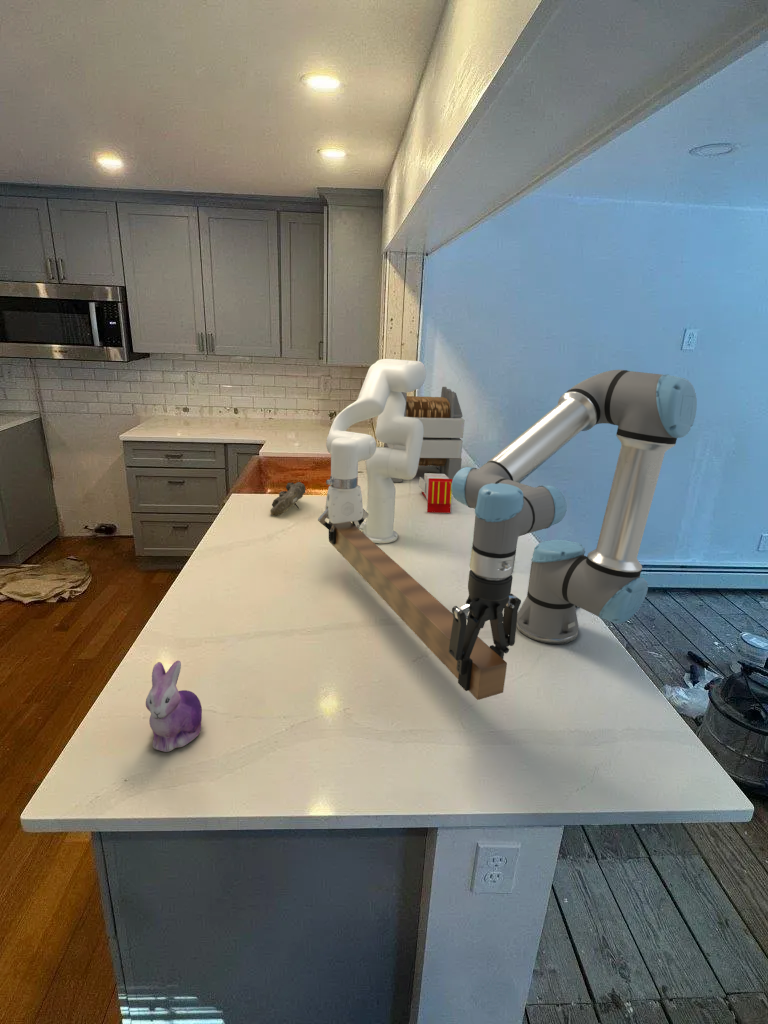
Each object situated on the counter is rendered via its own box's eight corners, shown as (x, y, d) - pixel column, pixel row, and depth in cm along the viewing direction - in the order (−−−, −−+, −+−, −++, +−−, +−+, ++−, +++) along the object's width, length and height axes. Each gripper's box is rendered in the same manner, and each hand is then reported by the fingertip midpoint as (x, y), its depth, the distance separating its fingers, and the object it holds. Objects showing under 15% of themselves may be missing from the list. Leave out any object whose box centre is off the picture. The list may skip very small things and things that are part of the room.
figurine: (153, 762, 97) (144, 689, 92) (146, 724, 105) (138, 655, 100) (210, 745, 101) (204, 674, 96) (199, 710, 109) (193, 643, 104)
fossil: (276, 488, 229) (303, 468, 224) (291, 505, 232) (319, 486, 227) (260, 511, 209) (290, 490, 204) (277, 530, 212) (307, 510, 207)
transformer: (382, 463, 289) (386, 382, 275) (445, 464, 293) (451, 384, 279) (390, 482, 257) (394, 392, 243) (460, 483, 261) (468, 394, 247)
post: (329, 541, 168) (329, 521, 166) (347, 539, 171) (347, 518, 168) (477, 700, 103) (480, 670, 100) (503, 692, 105) (507, 662, 103)
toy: (446, 469, 247) (456, 480, 217) (444, 499, 249) (454, 514, 220) (418, 468, 246) (425, 479, 217) (416, 499, 249) (423, 513, 219)
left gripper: (319, 489, 152) (319, 550, 159) (377, 483, 160) (375, 541, 166) (310, 481, 159) (310, 540, 165) (366, 475, 166) (365, 532, 172)
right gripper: (457, 590, 92) (446, 707, 100) (547, 572, 100) (530, 681, 108) (433, 571, 98) (424, 682, 106) (520, 555, 106) (505, 660, 114)
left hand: (343, 540), depth 165 cm, fingers closed on post, 5 cm apart
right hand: (477, 682), depth 107 cm, fingers closed on post, 6 cm apart
